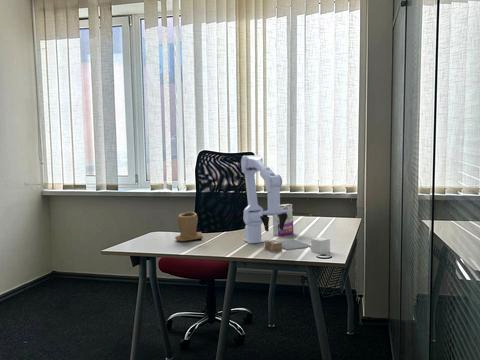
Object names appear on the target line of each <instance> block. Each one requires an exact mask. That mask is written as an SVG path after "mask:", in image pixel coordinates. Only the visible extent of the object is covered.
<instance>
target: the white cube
mask: <svg viewBox="0 0 480 360" xmlns="http://www.w3.org/2000/svg"><path fill="white" fill-rule="evenodd" d="M310 245H311V247H310V252H311V253H315V254H316V253H317V254H318V255H319V254H320V255H321V254H322V255H323V254H325V253H326V254H327V253H330V251H331V240H330V238H327V237H326V238H325V237H321V236H319V237H313V238H310Z"/></svg>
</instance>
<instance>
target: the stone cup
mask: <svg viewBox="0 0 480 360" xmlns="http://www.w3.org/2000/svg"><path fill="white" fill-rule="evenodd" d="M198 220H199V217H198V214H197V213H196V212H194V211H186V212H183V213H179V214H178V216H177V225H178V228H179V231H180V232H179V233H180V234H179V235H177V236H175V240H176V241H178V242H188V241H189V242H190V241H196V240H201V239H204V236H203V234H202V231H197V226H198Z"/></svg>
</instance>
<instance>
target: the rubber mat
mask: <svg viewBox="0 0 480 360" xmlns="http://www.w3.org/2000/svg"><path fill="white" fill-rule="evenodd" d="M277 241H278V242H281V243H282V250H285V251H291V250H299V249H307V248H308V247H309V248H311V244H308V243H305V242H303V241H299V240H297V239H285V240H277Z"/></svg>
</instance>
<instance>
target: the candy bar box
mask: <svg viewBox="0 0 480 360" xmlns="http://www.w3.org/2000/svg"><path fill="white" fill-rule="evenodd" d="M293 207H294V206H293V204H291V203H283V204H280V210H285V209H287V210H289V214H287V215H288V217H287V219H286V221H285V224H284V228H283V230H280V223H279V216H278V215H279V214H278V215H272V234H273V236H276V237H283V236H288V235H293V234H294V208H293ZM272 214H275V213H272Z"/></svg>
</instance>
